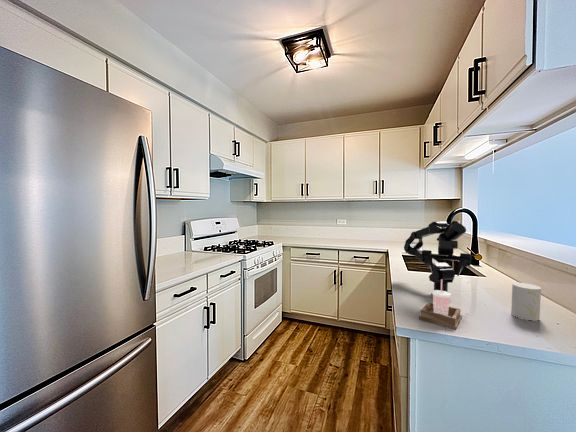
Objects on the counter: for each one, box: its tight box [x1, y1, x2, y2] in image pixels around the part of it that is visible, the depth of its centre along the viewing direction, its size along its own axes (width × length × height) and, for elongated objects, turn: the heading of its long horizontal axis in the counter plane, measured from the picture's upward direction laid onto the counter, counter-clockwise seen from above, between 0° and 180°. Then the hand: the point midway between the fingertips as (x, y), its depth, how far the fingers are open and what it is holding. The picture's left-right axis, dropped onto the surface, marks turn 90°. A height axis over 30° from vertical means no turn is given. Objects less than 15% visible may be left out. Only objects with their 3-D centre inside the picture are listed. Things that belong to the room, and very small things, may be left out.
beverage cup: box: [431, 279, 452, 316], centre depth 99 cm, size 6×6×14 cm
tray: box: [418, 301, 463, 330], centre depth 99 cm, size 12×12×4 cm
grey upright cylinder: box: [510, 282, 542, 322], centre depth 101 cm, size 8×8×12 cm
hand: (445, 274), depth 112 cm, fingers open, 9 cm apart
